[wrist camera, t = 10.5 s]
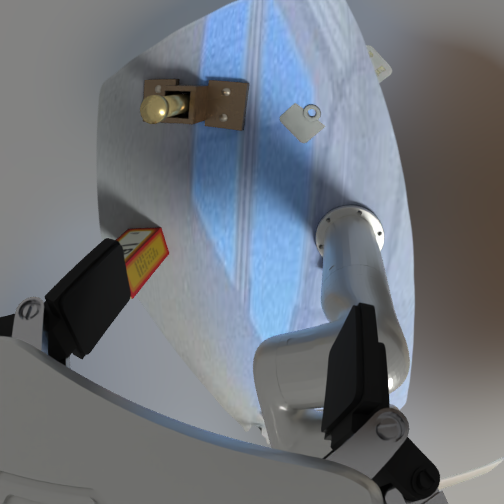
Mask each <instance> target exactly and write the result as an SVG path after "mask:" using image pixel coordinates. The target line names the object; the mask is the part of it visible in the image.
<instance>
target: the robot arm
mask: <svg viewBox="0 0 504 504" xmlns="http://www.w3.org/2000/svg"><path fill="white" fill-rule="evenodd" d="M359 210H360V212H358V211H359ZM328 218H330V219H328ZM379 231H380V232H379ZM383 244H384V231H383V227H382V225H381V223H380V221H379V219H378V218H377V217H376V215H374V214H373V213H372V212H371V211H369V210H367V209H366V208H363V207H360V206H354V205H346V206H341V207H338V208H335V209H333V210H331V211H330V212H329V213H327V214H326V215H325V216H324V217H323V218H322V220H321V221H320V223H319V225H318V227H317V230H316V246H317V249H318V251H319V253H320V254H321V256H322V257H323V272H322V288H321V305H322V309H323V312H324V314H325V316H326V318H327V319H328V321H329V322H330V323H326V324H322V325H319V326H316V327H312V328H307V329H303V330H298V331H294V332H289V333H285V334H280V335H276V336H273V337H270V338H268V339H266V340H265V341H263V342H262V343H261V344H260V345H259V347H258V348H257V350H256V352H255V356H254V361H253V374H254V382H255V387H256V391H257V396H258V400H259V403H260V407H261V411H262V415H263V418H264V422H265V426H266V429H267V433H268V437H269V440H270V444H271V447H272V448H269V447H265V446H260V445H256V444H252V443H248V442H244V441H240V440H237V439H233V438H229V437H226V436H222V435H219V434H216V433H213V432H209V431H206V430H203V429H200V428H197V427H194V426H191V425H188V424H186V423H183V422H180V421H178V420H175V419H172V418H170V417H167V416H164V415H162V414H159V413H157V412H155V411H152V410H150V409H148V408H145V407H143V406H141V405H138V404H136V403H134V402H132V401H130V400H127V399H125V398H123V397H121V396H119V395H117V394H115V393H113V392H111V391H109V390H107V389H105V388H103V387H102V386H100V385H98V384H96V383H94V382H92V381H90V380H89V379H87V378H85V377H83V376H81V375H80V374H78V373H76V372H75V371H73V370H71V368H70V355H71V353H73V354H74V355H75V356H77V357H79V358H80V359H83V358H84V356H85V355H87V354H89V353H90V352H91V351H92V349H93V348H94V347H95V345H96V344H97V342H98V341H99V340H100V338H101V337H102V336H103V334H104V333H105V331H106V330H107V329H108V327H109V326H110V325H111V323H112V322H113V321H114V319H115V318H116V317H117V316H118V314H119V313H120V312H121V310H122V309H123V308H124V306H125V305H126V304H127V302H128V301H129V299H130V297H131V291H130V286H129V281H128V275H127V270H126V264H125V259H124V253H123V247H122V246H121V245H120V243H119V241H116V240H112V239H109V238H106V239H104V240H103V241H102V242H101V243H100V244H99V245H98V246H97V247H96V248H94V249H93V250H92V251H91V252H90V253H89V254H88V255H87V256H85V257H84V258H83V259H82V260H81V261H80V262H79V263H78V264H77V265H76V266H75V267H74V268H73V269H72V270H71V271H69V272H68V273H67V274H66V275H65V276H64V277H63V278H62V279H61V280H60V281H59V282H58V283H57V284H56V286H54V287H53V288H52V289H51V290H50V291H49V292H48V293H47V294H46V295H45V299H46V301H45V302H43V301H42V300H41V299H40V298H37V297H30V298H27V299H25V300H23V301H22V302H21V303H20V304H19V306H18V307H17V309H16V312H15V314H12V315H8V316H4V317H0V504H448V502H447V500H446V498H445V496H444V493H443V491H440V492H439V490H438V486H439V482H440V474H439V471H438V469H437V468H436V466H435V465H434V464H433V463H432V462H431V461H430V460H429V459H428V458H427V457H426V456H425V455H424V454H423V453H422V452H421V451H420V450H419V449H418V448H417V446H416V445H415V444H414V443H413V442H412V441H411V440H410V439H409V438H408V437H407V436H408V432H409V423H408V421H407V418H406V417H405V416H404V414H403V413H402V412H400V410H399V409H398V408H397V407H396V406H394V405H391V404H389V394H390V393H391V392H393V391H395V390H396V389H397V388H398V387H400V386H401V384H402V383H403V382H404V381H405V379H406V377H407V375H408V372H409V365H410V359H409V351H408V347H407V343H406V340H405V337H404V334H403V332H402V329H401V327H400V324H399V322H398V319H397V316H396V313H395V310H394V306H393V302H392V298H391V294H390V290H389V285H388V281H387V276H386V272H385V268H384V264H383V260H382V256H381V252H380V251H381V249H382V247H383ZM322 407H324V409H323V411H321V412H318V411H316V410H315V409H314V408H322Z"/></svg>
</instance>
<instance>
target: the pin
mask: <svg viewBox="0 0 504 504" xmlns="http://www.w3.org/2000/svg"><path fill="white" fill-rule="evenodd" d="M189 105H190V93H187V94H178V95H170V96H161V95H151V96H148V97H146V98H145V99H144V100H143V102H142V104H141V107H140V113H141V116H142V118H143V120H144V121H146V122H147V123H149V124H156V123H159V122H162V121H163V120H165V118H167V117H170V116H174V115H178V114H182V113H186V112H189Z"/></svg>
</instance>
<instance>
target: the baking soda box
mask: <svg viewBox="0 0 504 504" xmlns="http://www.w3.org/2000/svg"><path fill="white" fill-rule="evenodd" d="M116 241H119V243H120V245H121V246H122V247H123V253H124V259H125V264H126V270H127V275H128V281H129V286H130V291H131V297H130V298H131V299H133V298H134V296H136V294H137V293H138V292H139V290H140V289H141V288H142V287H143V285H144V284H145V283H146V282H147V280H148V279H149V278H150V277H151V275H152V274H153V273H154V272H155V270H156V269H157V268H158V267H159V265H160V264H161V263H162V262H163V261H164V259H165V258H166V257H167V256H168V255H169V251H168V248H167V245H166V241H165V238H164V235H163V232H162V228H138V229H128V230H126V231H125V232H124V233H123V234H122V235H121V236H120V237H119V238H117V239H116Z"/></svg>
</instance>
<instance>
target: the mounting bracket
mask: <svg viewBox="0 0 504 504" xmlns="http://www.w3.org/2000/svg"><path fill="white" fill-rule="evenodd" d="M366 48H367V50H368V53H369V56H370V59H371V61H372V64H373V67H374V70H375V73H376V76H377V79H378V82H379V83H380V82H382V81H383V80H384V79H385V78H387V77H388V76H389V75H391V73H392V69H391V67H390V66H389V65H388V63H387V62H386V61H385V60H384V59H383V58H382V57H381V56H380V54H379V53H378V52H377V51H376V50H375V49H374V48H373V47H372V46H370V45H366ZM310 109H314V110H315V111H316V116H315V117H313V116H310V115H309V114H308V110H310ZM320 116H321V111H320V109H319V108H318V107H317V106H316V105H308V106H306V107H305V108H304V109H303V108H301V107H300V106H299V105H297V104H296V103H295V104H294V105H292V106H291V107H290V108H289V109H288V110H287V111H286V112H285V113H283V114H282V115H281V116H280V121H281V123H282V124H283V125H284V126H285V127H286V128H287V129H288V130H289V131H290V132H291V133H292V134H293V135H294V136H295V137H296V138H297V139H298V140H299V141H300V142H302V143H307V142H308V141H309V140H310V139H311V138H312V137H314V136H315V135H316V134H317V133H318V132H320V131H321V130H322V129H323V128H324V127H325V126H324V125H323V124H322V123H321V122H319V121H318V119H319V118H320Z"/></svg>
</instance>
